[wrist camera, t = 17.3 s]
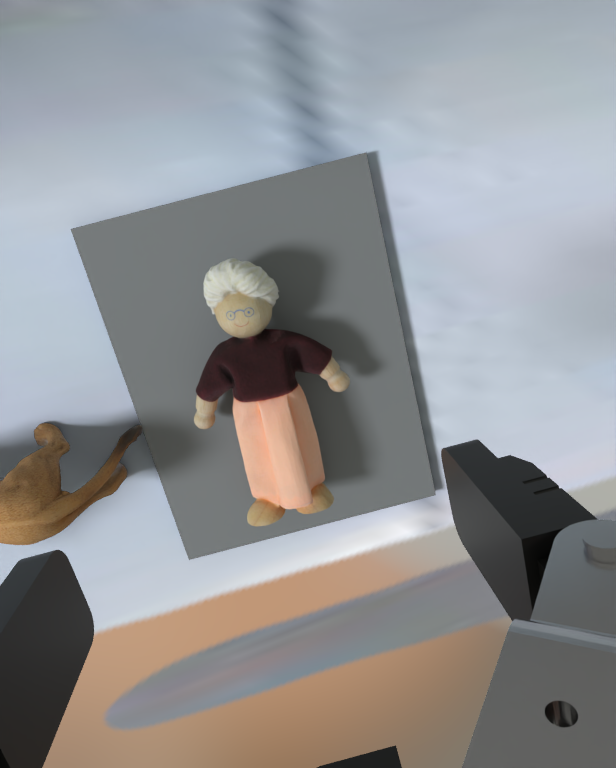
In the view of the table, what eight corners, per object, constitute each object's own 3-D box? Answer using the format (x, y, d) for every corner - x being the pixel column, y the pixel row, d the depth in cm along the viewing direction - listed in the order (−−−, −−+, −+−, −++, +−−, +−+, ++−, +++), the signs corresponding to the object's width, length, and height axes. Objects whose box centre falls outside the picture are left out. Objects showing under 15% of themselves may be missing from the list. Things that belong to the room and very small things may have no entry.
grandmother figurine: (233, 549, 26) (142, 286, 22) (225, 510, 30) (146, 278, 26) (384, 495, 27) (325, 236, 23) (358, 463, 31) (304, 235, 27)
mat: (190, 554, 31) (189, 559, 30) (74, 229, 26) (70, 229, 25) (433, 490, 31) (435, 494, 31) (364, 153, 26) (366, 152, 26)
